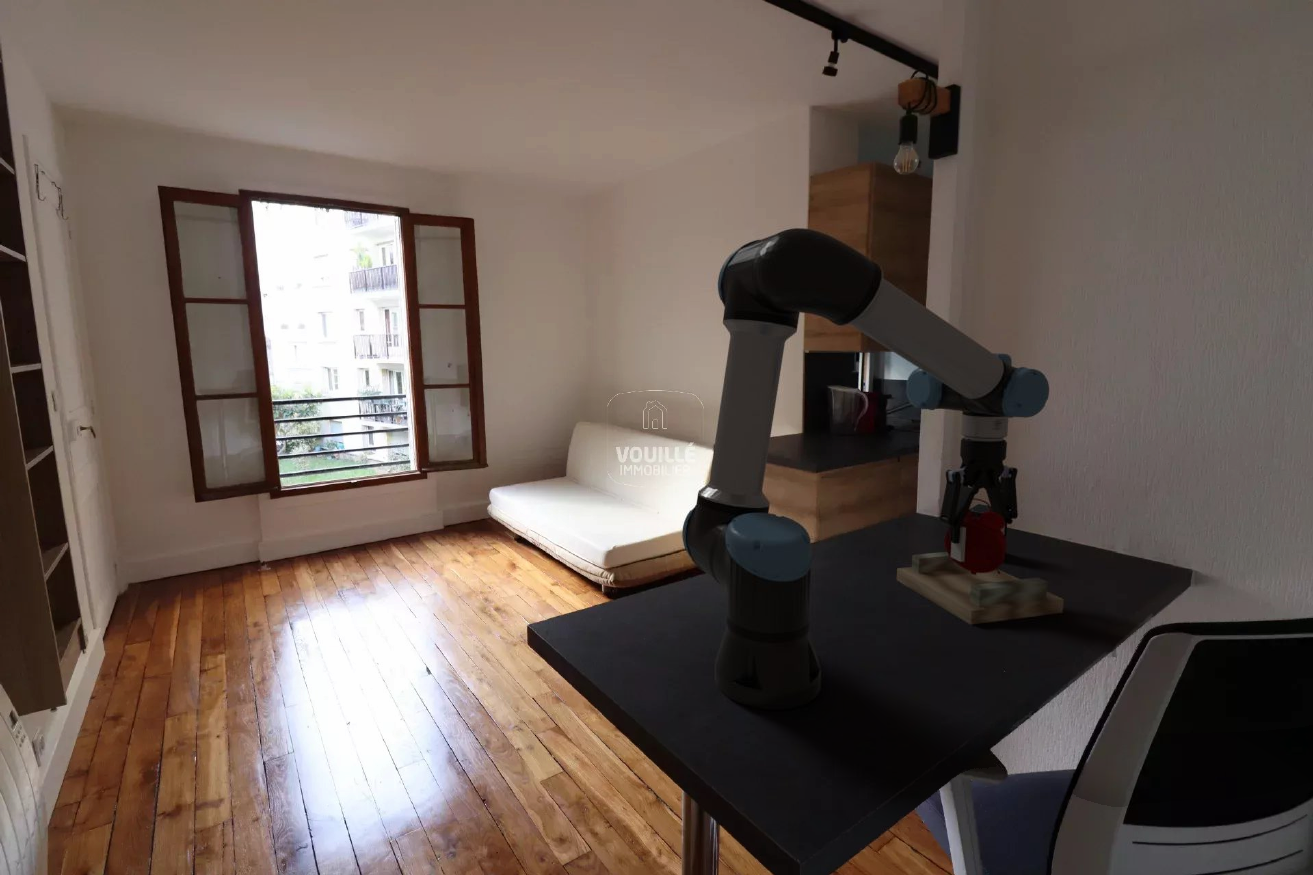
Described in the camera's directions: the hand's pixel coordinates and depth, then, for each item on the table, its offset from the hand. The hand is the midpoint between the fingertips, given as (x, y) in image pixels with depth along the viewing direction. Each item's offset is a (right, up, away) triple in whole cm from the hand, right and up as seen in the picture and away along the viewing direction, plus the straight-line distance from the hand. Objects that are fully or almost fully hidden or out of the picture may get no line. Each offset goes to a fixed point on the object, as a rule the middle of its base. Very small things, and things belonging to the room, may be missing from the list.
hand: (976, 556), depth 116 cm
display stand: (0, -8, +1) cm, 8 cm away
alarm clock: (0, -3, 0) cm, 3 cm away
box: (+14, -4, +25) cm, 29 cm away
